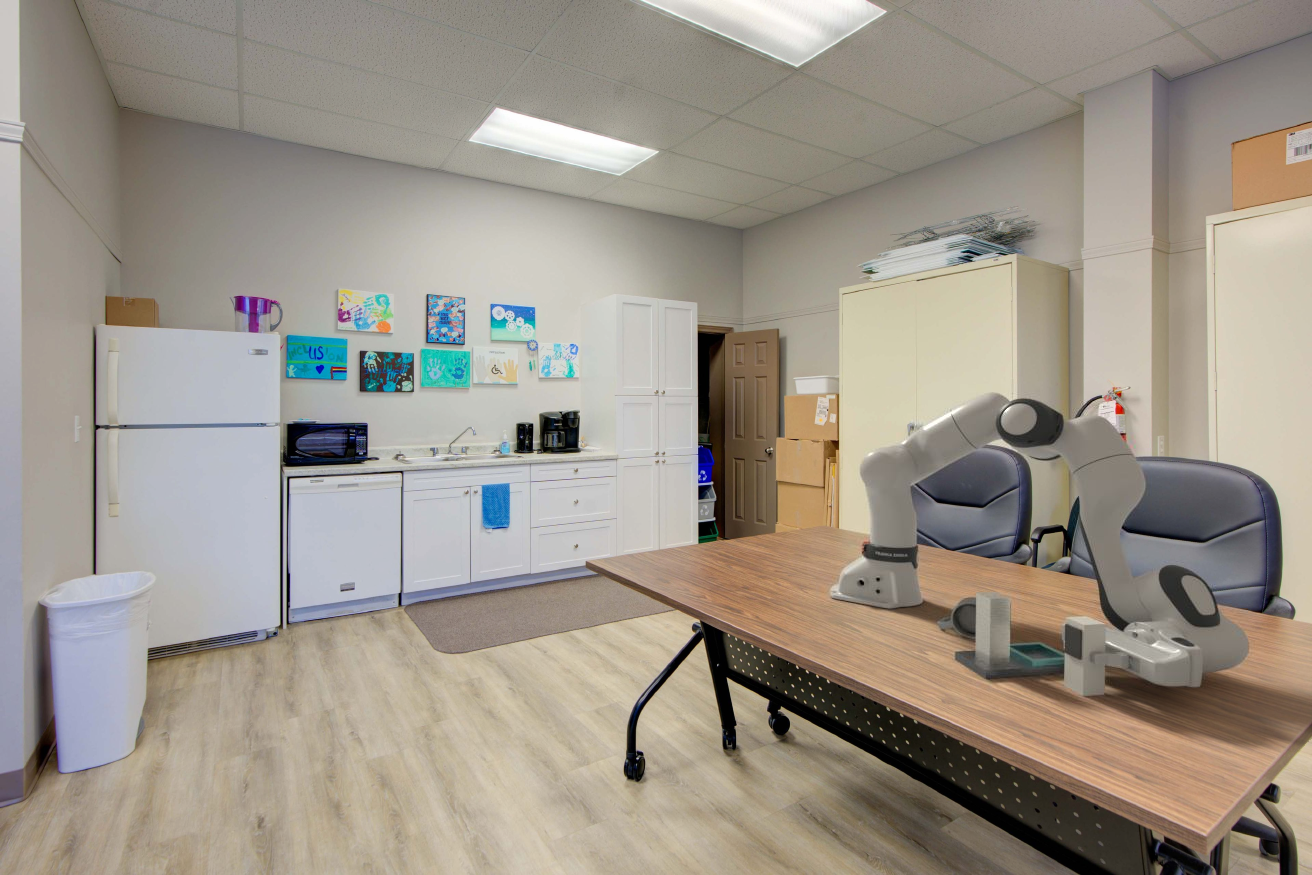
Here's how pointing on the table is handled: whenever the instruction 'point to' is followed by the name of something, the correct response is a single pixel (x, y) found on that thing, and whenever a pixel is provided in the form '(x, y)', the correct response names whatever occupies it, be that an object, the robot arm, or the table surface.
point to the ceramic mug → (962, 618)
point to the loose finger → (1084, 655)
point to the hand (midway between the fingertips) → (1079, 652)
